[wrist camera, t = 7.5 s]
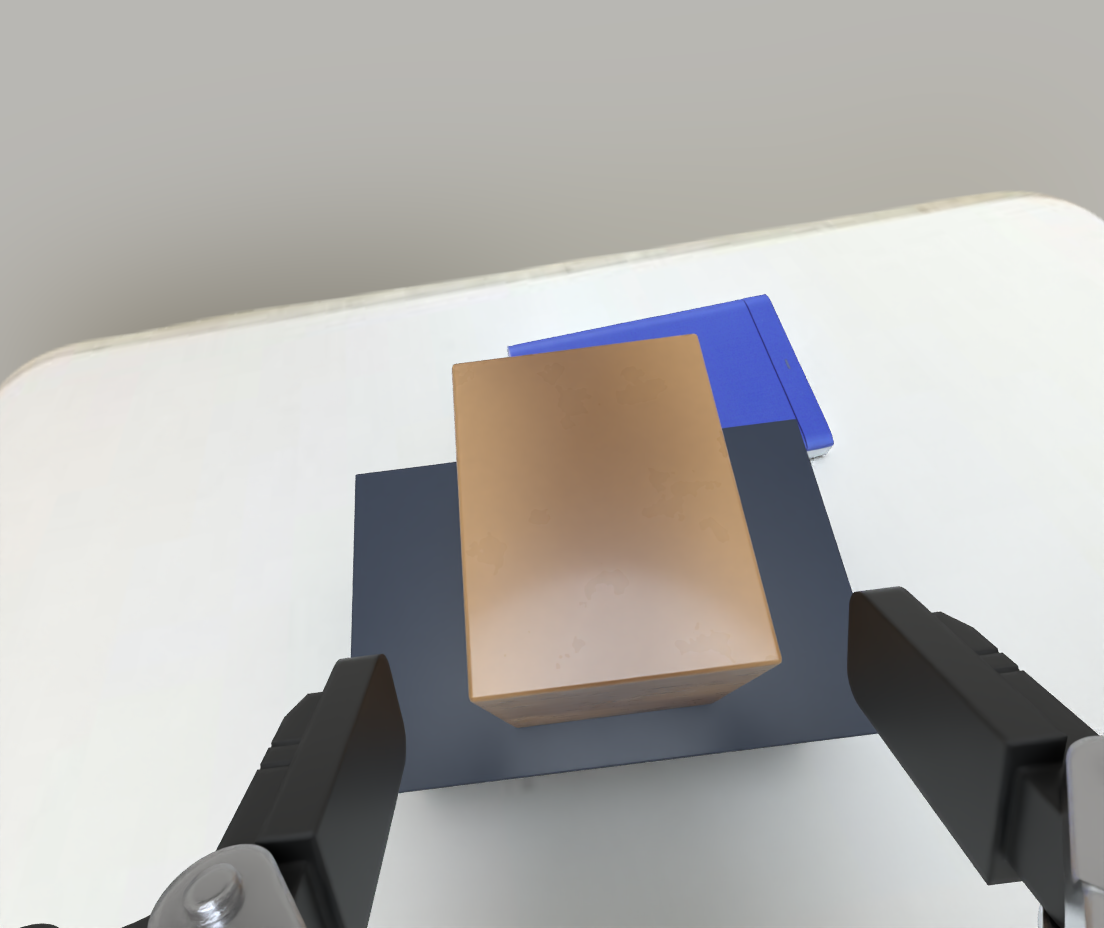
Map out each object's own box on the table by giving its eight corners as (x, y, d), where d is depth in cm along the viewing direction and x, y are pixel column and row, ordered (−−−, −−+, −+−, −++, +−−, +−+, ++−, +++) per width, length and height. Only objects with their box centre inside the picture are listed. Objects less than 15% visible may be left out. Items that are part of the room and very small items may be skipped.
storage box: (749, 501, 27) (796, 418, 21) (814, 742, 23) (897, 731, 17) (410, 543, 27) (355, 474, 21) (414, 792, 23) (346, 799, 17)
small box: (665, 468, 20) (697, 331, 14) (714, 703, 17) (785, 663, 11) (495, 490, 20) (450, 362, 14) (514, 728, 17) (467, 703, 11)
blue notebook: (541, 504, 26) (836, 440, 26) (505, 342, 29) (766, 289, 30) (543, 518, 27) (824, 457, 28) (509, 362, 31) (758, 311, 31)
